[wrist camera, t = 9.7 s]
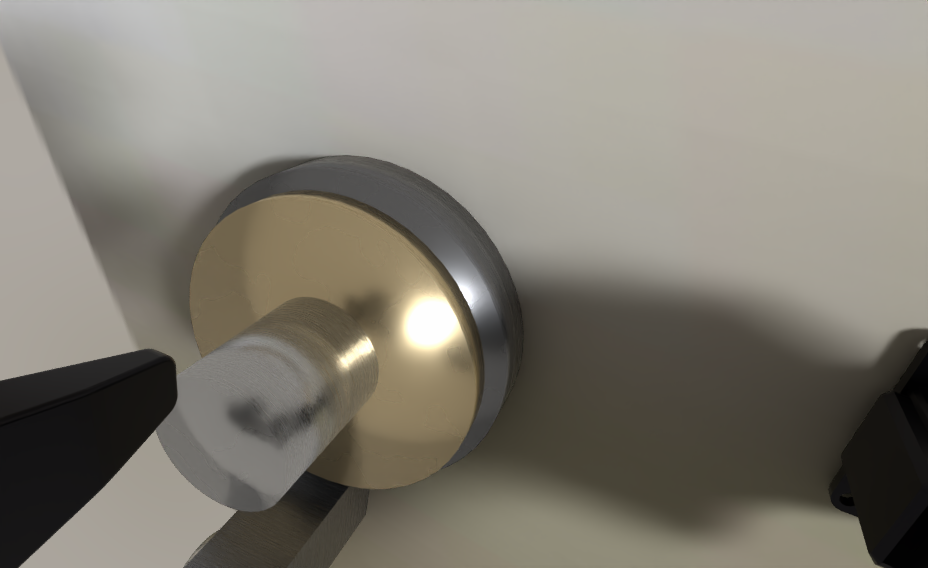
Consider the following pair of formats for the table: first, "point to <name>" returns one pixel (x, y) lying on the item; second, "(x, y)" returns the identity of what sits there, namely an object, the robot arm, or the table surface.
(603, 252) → the table surface
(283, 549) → the base
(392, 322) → the pan
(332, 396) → the cylinder
